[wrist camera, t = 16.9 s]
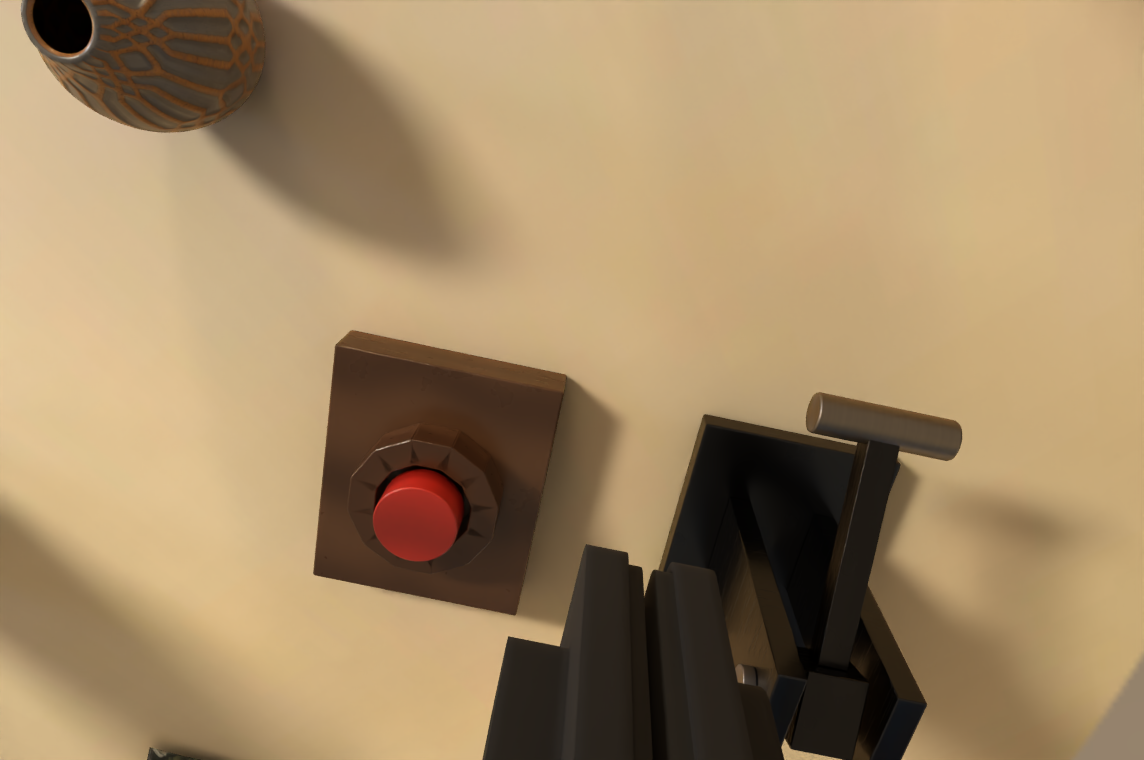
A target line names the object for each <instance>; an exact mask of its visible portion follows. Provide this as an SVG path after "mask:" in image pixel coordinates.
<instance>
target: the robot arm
mask: <svg viewBox="0 0 1144 760" xmlns="http://www.w3.org/2000/svg"><path fill="white" fill-rule="evenodd" d="M483 760H784V757H783V753H782V749H781V745H780V741H779V737H778V733H777V729H776V725H775V721H774V716H773V712H772V708H771V704H770V701H769V698H768V696H767V693H766V691H765V690H764V689H763V688H762V687H759V686H754V685H749V684H744V683H739V682H738V680H737V675H736V671H735V666H734V661H733V656H732V651H731V646H730V641H729V636H728V631H727V626H726V621H725V616H724V611H723V606H722V601H721V596H720V591H719V586H718V581H717V576H716V574H715V571H713V570H710V569H705V568H700V567H695V566H690V565H686V564H681V563H676V562H671V563H670V565H669V566H668V568H667V571H666V572H663V571H658V570H653V572H652V574H651V576H650V579H649V583H648V586H647V590H646V593H645V597H644V587H643V571H642V568H641V567H638V566H633V565H629V560H628V553H627V552H622V551H617V550H612V549H607V548H602V547H597V546H592V545H587V544H586V546H585V548H584V551H583V555H582V558H581V562H580V567H579V571H578V575H577V579H576V583H575V587H574V591H573V595H572V599H571V603H570V607H569V611H568V616H567V620H566V624H565V628H564V632H563V636H562V640H561V644H560V647H559V646H554V645H549V644H544V643H539V642H534V641H529V640H524V639H519V638H514V637H509V636H508V640H507V644H506V649H505V653H504V658H503V663H502V667H501V672H500V677H499V681H498V686H497V691H496V696H495V700H494V705H493V710H492V715H491V720H490V725H489V730H488V735H487V740H486V745H485V750H484V755H483Z"/></svg>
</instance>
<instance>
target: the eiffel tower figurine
mask: <svg viewBox="0 0 1144 760" xmlns="http://www.w3.org/2000/svg"><path fill="white" fill-rule="evenodd" d="M147 760H199V759H194V758H190V757H185V756H181V755H177V754H173V753H169V752H166V751H162V750H158V749H154V748H150V749H149V754H148V758H147Z"/></svg>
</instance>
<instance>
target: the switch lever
mask: <svg viewBox="0 0 1144 760" xmlns="http://www.w3.org/2000/svg"><path fill="white" fill-rule="evenodd" d="M806 427H807V430H808V431H809V432H811V433H815V434H820V435H824V436H829V437H834V438H839V439H844V440H848V441H853V442H858V443H857V447H856V451H855V456H854V460H853V464H852V469H851V473H850V477H849V482H848V486H847V491H846V495H845V499H844V504H843V508H842V512H841V517H840V521H839V525H838V530H837V534H836V538H835V543H834V547H833V551H832V556H831V560H830V564H829V569H828V573H827V577H826V582H825V586H824V590H823V595H822V599H821V604H820V608H819V612H818V617H817V621H816V625H815V630H814V634H813V638H812V643H811V647H810V649H809V648H804V647H799V646H797V649H798V652H799V655H800V658H801V661H802V664H803V668H804V671H805V674H806V677H807V684H806V686H805V689H804V691H803V694H802V696H801V699H800V701H799V704H798V706H797V709H796V711H795V714H794V716H793V719H792V721H791V724H790V726H789V729H788V731H787V734H786V736H785V740H786V741H787V743H788V745H789V747H790V748H791V749H793V750H798V751H803V752H808V753H813V754H818V755H823V756H828V757H833V758H838V759H844V760H852V759H853V755H854V751H855V746H856V742H857V738H858V734H859V729H860V725H861V721H862V717H863V712H864V708H865V704H866V700H867V695H868V691H869V687H870V683H869V682H868V681H867V680H866V679H865V678H864V677H863V675H862V674H861V673H860V672H859V671H858V670H857V669H856V668H855V666H854V665H853V664H852V663H851V662H850V658H851V654H852V650H853V645H854V641H855V637H856V633H857V628H858V624H859V620H860V615H861V611H862V607H863V603H864V598H865V594H866V590H867V585H868V581H869V577H870V573H871V568H872V564H873V560H874V555H875V551H876V547H877V542H878V538H879V534H880V530H881V525H882V521H883V517H884V512H885V508H886V504H887V500H888V495H889V491H890V487H891V482H892V478H893V474H894V470H895V465H896V461H897V457H898V452H899V451H901V452H906V453H911V454H916V455H920V456H925V457H930V458H935V459H940V460H944V461H948V460H951V459H953V458H954V457H955V456H956V454H957V453H958V451H959V449H960V446H961V442H962V429H961V426H960V425H959V423H958V422H956V421H954V420H950V419H945V418H940V417H935V416H930V415H926V414H921V413H916V412H911V411H907V410H902V409H897V408H892V407H887V406H883V405H878V404H873V403H868V402H864V401H859V400H854V399H849V398H845V397H840V396H835V395H830V394H825V393H821V392H818V393H816V394H814V396H813V397H812V399H811V401H810V403H809V406H808V409H807V415H806Z"/></svg>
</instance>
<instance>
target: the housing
mask: <svg viewBox="0 0 1144 760" xmlns="http://www.w3.org/2000/svg"><path fill="white" fill-rule="evenodd" d="M566 379H567V376H566V375H564V374H559V373H555V372H550V371H545V370H540V369H535V368H531V367H526V366H521V365H516V364H511V363H507V362H502V361H497V360H492V359H487V358H483V357H478V356H473V355H468V354H463V353H459V352H454V351H449V350H444V349H439V348H435V347H430V346H425V345H420V344H416V343H411V342H406V341H401V340H396V339H392V338H387V337H382V336H377V335H372V334H368V333H363V332H358V331H353V330H352V331H350V332H349V333H348V334H347V335H346V336H345V337H344V338H343V339H341V340H340V341H339V342H338V343H337V344H336V346H335V354H334V364H333V375H332V385H331V395H330V406H329V416H328V426H327V437H326V447H325V458H324V468H323V478H322V489H321V499H320V509H319V520H318V530H317V541H316V551H315V561H314V572H313V574H314V575H316V576H321V577H326V578H331V579H336V580H341V581H346V582H351V583H356V584H361V585H366V586H371V587H376V588H381V589H386V590H391V591H396V592H401V593H406V594H411V595H416V596H421V597H426V598H431V599H436V600H441V601H446V602H451V603H456V604H461V605H466V606H471V607H476V608H481V609H486V610H491V611H496V612H501V613H506V614H511V615H516V614H517V610H518V605H519V600H520V596H521V591H522V586H523V582H524V577H525V572H526V568H527V563H528V558H529V554H530V549H531V545H532V540H533V535H534V531H535V526H536V521H537V517H538V512H539V507H540V503H541V498H542V494H543V489H544V484H545V480H546V475H547V470H548V466H549V461H550V456H551V452H552V447H553V442H554V438H555V433H556V429H557V424H558V419H559V415H560V410H561V405H562V401H563V396H564V391H565V385H566ZM413 469H427V470H432V471H435V472H438V473H440V474H442V475H444V476H446V477H447V478H448V479H450V480H451V481H452V482H453V483H454V484H455V485H456V486H457V488H458V489H459V491H460V493H461V495H462V497H463V501H464V508H465V510H464V516H463V520H462V523H461V526H460V528H459V531H458V534H457V537H456V540H455V542H454V544H453V545H452V547H451V548H450V549H449V550H448V551H447V552H446V553H445V554H443V555H441V556H440V557H438V558H436V559H432V560H429V561H421V562H420V561H409V560H406V559H403V558H400V557H398V556H396V555H394V554H392V553H391V552H389V551H388V550H387V549H386V548H385V547H384V546H383V545H382V544H381V542H380V541H379V540H378V538H377V536H376V533H375V531H374V527H373V514H374V510H375V507H376V505H377V504H378V502H379V500H380V498H381V496H382V495H383V493H384V491H385V489H386V488H387V486H388V484H389V483H390V482H391V480H393V479H394V478H395V477H396V476H398V475H399V474H401V473H403V472H406V471H409V470H413Z"/></svg>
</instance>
